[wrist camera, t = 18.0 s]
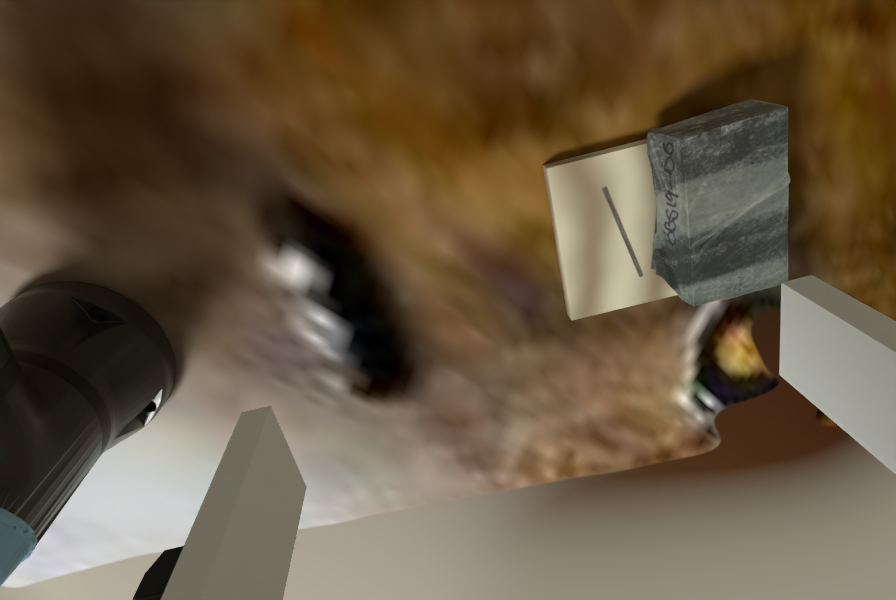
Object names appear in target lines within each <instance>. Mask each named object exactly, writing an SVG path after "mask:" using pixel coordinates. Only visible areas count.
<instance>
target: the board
mask: <svg viewBox="0 0 896 600" xmlns="http://www.w3.org/2000/svg"><path fill="white" fill-rule="evenodd" d="M647 152H648V150H647V141H646V139H644V140H640V141H636V142H632V143H628V144H624V145H620V146H616V147H612V148H608V149H604V150H600V151H596V152H592V153H588V154H584V155H580V156H576V157H572V158H568V159H564V160H560V161H556V162H552V163H548V164H544V165H543V169H544V175H545V181H546V188H547V194H548V200H549V206H550V212H551V218H552V224H553V230H554V236H555V242H556V248H557V254H558V260H559V267H560V273H561V279H562V285H563V291H564V297H565V303H566V309H567V314H568V316H569V317H570V319H571V320H576V319H580V318H584V317H588V316H592V315H596V314H601V313H605V312H609V311H613V310H617V309H621V308H625V307H630V306H634V305H638V304H642V303H646V302H650V301H654V300H659V299H663V298H667V297H671V296H675V295H678V294H677V293H676V292H675V291H674V290H673V289H672V288H671V287H670V286H669V285H668V284H667V282H666V281H665V280H664V279H663V278H662V277H661V276H658V275H656V271H655V264H654V260H653V246H652V243H653V240H654V235H655V234H656V232H657V217H656V213H657V203H656V195H655V192H654V185H653V177H652V169H651V166H650V161H649V158H648V155H647Z"/></svg>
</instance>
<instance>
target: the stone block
mask: <svg viewBox="0 0 896 600" xmlns="http://www.w3.org/2000/svg"><path fill="white" fill-rule="evenodd" d="M646 141H647V150H648V152H647V155H648V158H649V161H650V166H651V169H652V177H653V185H654V192H655V195H656V203H657V213H656V217H657V232H656V234H655V235H654V240H653V243H652V246H653V260H654V264H655V271H656V275H658V276H661V277H662V278H663V279H664V280H665V281H666V282H667V284H668V285H669V286H670V287H671V288H672V289H673V290H674V291H675V292H676V293H677V294H678V295H679V297H680V298H681V299H682V300H683V301H686V302H687V303H689V304H691V305H693V306H697V305H701V304H705V303H710V302H713V301H718V300H723V299H729V298H733V297H737V296H741V295H744V294H748V293H751V292H754V291H758V290H762V289H766V288H770V287H774V286H777V285H781V284H782V282H786V281H788V237H787V234H788V191H789V188H788V184H789V183H790V181H791V180H790V176H789V173H788V107H787V106H783V105H778V104H774V103H769V102H764V101H759V100H754V99H748V100H745V101H742V102H739V103H735V104H732V105H729V106H726V107H723V108H720V109H717V110H713V111H710V112H707V113H704V114H701V115H698V116H695V117H692V118H689V119H685V120H682V121H680V122H677V123H674V124H671V125H668V126H665V127H661V128H653V129H651V130H649V132H648V135H647V137H646Z"/></svg>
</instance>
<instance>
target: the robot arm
mask: <svg viewBox="0 0 896 600" xmlns="http://www.w3.org/2000/svg"><path fill="white" fill-rule="evenodd" d="M779 375H780V376H781V377H783V378H784V379H785V380H786V381H787V382H788V383H790V384H791V385H792V386H793V387H794V388H795V389H797V390H798V391H799V392H800V393H801V394H802V395H804V396H805V397H806V398H807V399H808V400H809V401H811V402H812V403H813V404H814V405H815V406H816V407H818V408H819V409H820V410H821V411H822V412H823V413H825V414H826V415H827V416H828V417H829V418H830V419H832V420H833V421H834V422H835V423H836V424H837V425H839V426H840V427H841V428H842V429H843V430H844V431H846V432H847V433H848V434H849V435H850V436H851V437H853V438H854V439H855V440H856V441H857V442H858V443H860V444H861V445H862V446H863V447H865V449H867V450H868V451H869V452H870V453H871V454H873V455H874V456H875V457H876V458H877V459H878V460H879V461H881V462H882V463H883V464H884V465H885V466H886V467H888V468H889V469H890V470H891V471H892V472H894V473H895V474H896V321H894V320H892V319H890V318H889V317H887V316H885V315H883V314H881V313H880V312H878V311H876V310H874V309H872V308H870V307H869V306H867V305H865V304H863V303H861V302H860V301H858V300H856V299H854V298H852V297H850V296H849V295H847V294H845V293H843V292H841V291H839V290H838V289H836V288H834V287H832V286H830V285H829V284H827V283H825V282H823V281H821V280H819V279H818V278H816V277H814V276H812V275H811V276H807V277H803V278H799V279H795V280H791V281H786V282H782V284H781V329H780V374H779ZM174 381H175V360H174V355H173V352H172V349H171V346H170V344H169V342H168V340H167V338H166V336H165V334H164V333H163V331H162V330H161V328H160V327H159V326H158V324H157V323H156V322H155V321H154V320H153V319H152V318H151V317H150V316H149V315H148V314H147V313H146V312H145V311H144V310H143V309H141V308H140V307H139V306H138V305H136V304H135V303H133V302H132V301H130V300H128V299H127V298H125V297H123V296H121V295H119V294H117V293H115V292H113V291H110V290H108V289H105V288H102V287H99V286H95V285H91V284H86V283H79V282H55V283H48V284H43V285H40V286H37V287H34V288H31V289H29V290H27V291H25V292H23V293H22V294H20V295H19V296H17V297H15V298H14V299H12V300H11V301H9V302H8V303H6V304H5V305H3V306H2V307H1V308H0V586H1V585H2V584H3V583H4V582H5V580H6V579H7V578H8V577H9V576H10V574H11V573H12V572H13V571H14V570H15V569H16V567H17V566H18V565H19V564H20V563H21V562H22V561H24V560H25V559H27V558H28V557H29V556H30V555H31V553H32V551H33V550H34V549H35V546H36V545H37V543H38V542H39V541H40V539H41V538H42V536H43V535H44V534H45V532H46V531H47V529H48V528H49V527H50V525H51V524H52V522H53V521H54V520H55V518H56V517H57V515H58V514H59V513H60V511H61V510H62V509H63V507H64V506H65V504H66V503H67V502H68V500H69V499H70V497H71V496H72V495H73V493H74V492H75V490H76V489H77V488H78V486H79V485H80V483H81V482H82V481H83V479H84V478H85V476H86V475H87V474H88V472H89V471H90V469H91V468H92V467H93V465H94V464H95V462H96V461H97V460H98V458H99V457H100V456H101V454H102V453H103V452H105V451H106V450H108V449H110V448H111V447H113V446H115V445H116V444H118V443H119V442H121V441H123V440H124V439H126V438H128V437H129V436H131V435H133V434H134V433H136V432H137V431H139V430H141V429H142V428H143V427H145V426H146V425H147V424H148V423H149V422H150V421H151V420H152V419H153V418H154V417H155V416H156V415H157V413H158V412H159V411H160V409H161V408H162V406H163V405H164V403H165V402H166V400H167V399H168V397H169V395H170V393H171V391H172V388H173V385H174ZM305 491H306V485H305V483H304V481H303V478H302V476H301V474H300V471H299V469H298V467H297V465H296V462H295V460H294V458H293V455H292V453H291V451H290V449H289V446H288V444H287V442H286V439H285V437H284V435H283V433H282V430H281V428H280V426H279V423H278V421H277V419H276V417H275V414H274V412H273V410H272V407H271V406H267V407H263V408H259V409H255V410H250V411H246V412H242V413H241V415H240V417H239V420H238V422H237V424H236V427H235V429H234V431H233V433H232V436H231V438H230V440H229V443H228V445H227V447H226V450H225V452H224V454H223V457H222V459H221V461H220V464H219V466H218V468H217V471H216V473H215V475H214V477H213V480H212V482H211V484H210V487H209V489H208V491H207V494H206V496H205V498H204V501H203V503H202V505H201V508H200V510H199V512H198V515H197V517H196V519H195V521H194V524H193V526H192V528H191V531H190V533H189V535H188V538H187V540H186V542H185V545H184V546H182V547H177V548H173V549H169V550H165V551H164V552H163V553H162V554H161V555H160V557H159V558H158V559H157V560H156V561H155V562H154V564H153V565H152V566H151V567H150V568H149V570H148V571H147V572H146V573H145V575H144V577H143V579H142V581H141V583H140V585H139V587H138V589H137V591H136V593H135V595H134V597H133V600H283V596H284V591H285V586H286V581H287V576H288V572H289V567H290V562H291V557H292V553H293V548H294V543H295V539H296V534H297V529H298V524H299V520H300V515H301V510H302V505H303V501H304V496H305Z"/></svg>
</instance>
